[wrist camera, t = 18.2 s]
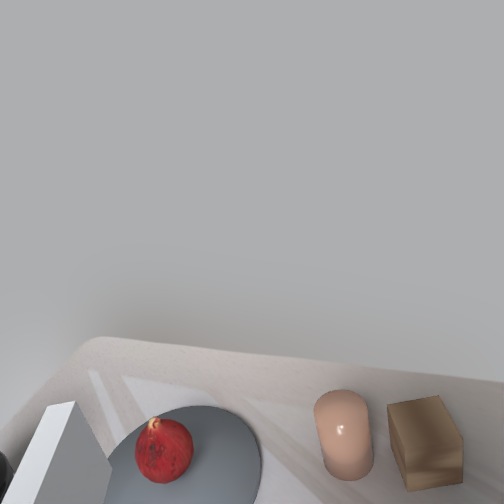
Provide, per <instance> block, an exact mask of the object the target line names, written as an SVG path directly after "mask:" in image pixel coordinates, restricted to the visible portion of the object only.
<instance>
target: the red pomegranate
mask: <svg viewBox="0 0 504 504" xmlns="http://www.w3.org/2000/svg"><path fill="white" fill-rule="evenodd" d="M193 454H194V447H193V440H192V436H191V434H190V432H189V431H188V430H187V428H186V427H185V426H184V425H183V424H181V423H180V422H177V421H175V420H172V419H160V418H159V417H153V418H151V419H149V423H148V425H147V426H146V427H145V428H144V429H143V430H142V431H141V433H140V435H139V437H138V439H137V441H136V446H135V460H136V463H137V466H138V468H139V470H140V472H141V473H142V474H143V476H144V477H146V478H147V479H149V480H150V481H151V482H154V483H161V484H167V483H169V482H172V481H174V480H177V479H178V478H179V477H180V476H181V475H182V474H184V473H185V471H186V470H187V468H188V467H189V465H190V463H191V460H192V457H193Z"/></svg>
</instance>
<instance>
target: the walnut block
mask: <svg viewBox="0 0 504 504" xmlns="http://www.w3.org/2000/svg"><path fill="white" fill-rule="evenodd" d="M387 412H388V423H389V433H390V443H391V448H392V451H393V453H394V456H395V459H396V461H397V464H398V467H399V470H400V472H401V475H402V478H403V480H404V483H405V486H406V488H407V491H408V492H411V491H417V490H423V489H429V488H434V487H440V486H446V485H452V484H458V483H462V479H463V438H462V436H461V434H460V433H459V431H458V429H457V427H456V425H455V424H454V422H453V420H452V418H451V416H450V414H449V413H448V411H447V409H446V407H445V405H444V404H443V402H442V400H441V398H440V396H439V395H438V396H433V397H427V398H422V399H416V400H411V401H405V402H400V403H394V404H389V405H387Z"/></svg>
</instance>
